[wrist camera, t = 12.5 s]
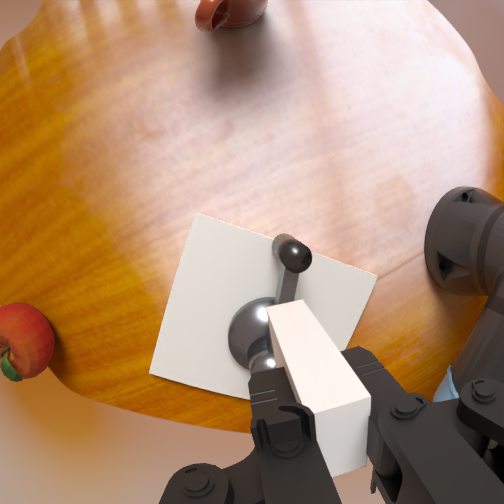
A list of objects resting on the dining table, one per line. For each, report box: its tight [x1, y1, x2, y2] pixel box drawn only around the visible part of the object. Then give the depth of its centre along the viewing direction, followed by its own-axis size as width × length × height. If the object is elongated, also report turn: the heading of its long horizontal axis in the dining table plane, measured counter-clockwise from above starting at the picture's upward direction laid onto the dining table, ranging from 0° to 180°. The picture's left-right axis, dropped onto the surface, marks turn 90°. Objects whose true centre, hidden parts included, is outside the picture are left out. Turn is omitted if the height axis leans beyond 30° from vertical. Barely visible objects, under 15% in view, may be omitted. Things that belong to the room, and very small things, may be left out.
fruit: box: [0, 303, 55, 382], centre depth 29 cm, size 10×10×10 cm
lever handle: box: [228, 234, 312, 376], centre depth 32 cm, size 19×9×6 cm, turn 171°
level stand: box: [149, 212, 378, 400], centre depth 33 cm, size 22×20×8 cm
